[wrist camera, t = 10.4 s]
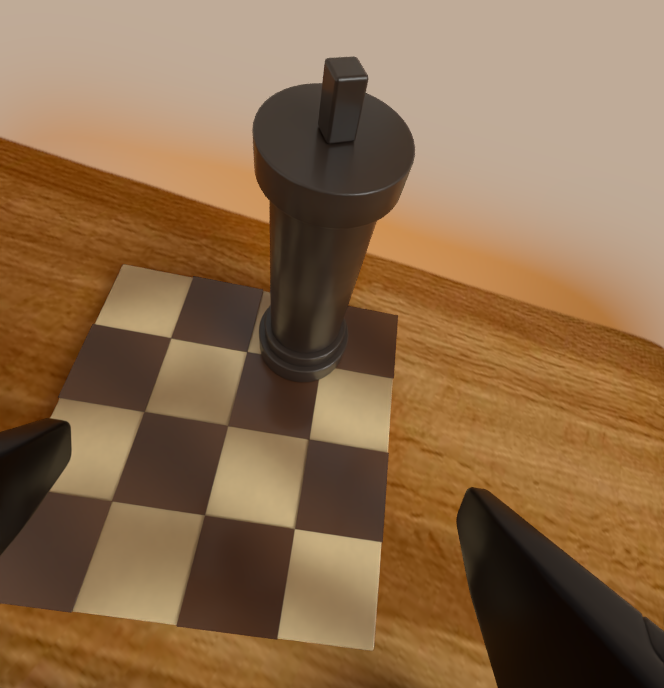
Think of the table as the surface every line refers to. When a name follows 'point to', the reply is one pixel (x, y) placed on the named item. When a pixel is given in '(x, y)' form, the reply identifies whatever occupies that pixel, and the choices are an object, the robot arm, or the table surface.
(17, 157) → the table surface
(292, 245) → the chess king
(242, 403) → the chessboard
